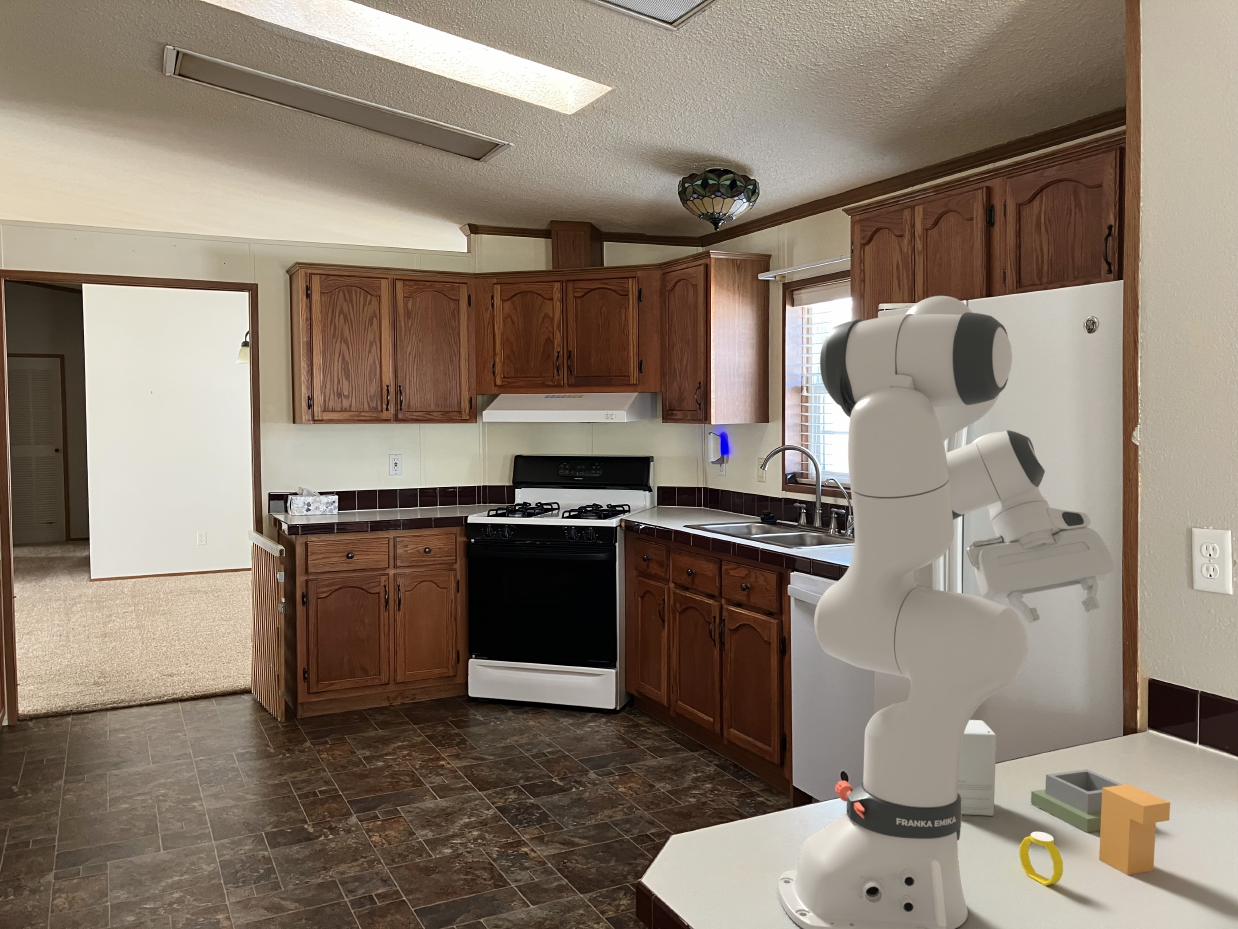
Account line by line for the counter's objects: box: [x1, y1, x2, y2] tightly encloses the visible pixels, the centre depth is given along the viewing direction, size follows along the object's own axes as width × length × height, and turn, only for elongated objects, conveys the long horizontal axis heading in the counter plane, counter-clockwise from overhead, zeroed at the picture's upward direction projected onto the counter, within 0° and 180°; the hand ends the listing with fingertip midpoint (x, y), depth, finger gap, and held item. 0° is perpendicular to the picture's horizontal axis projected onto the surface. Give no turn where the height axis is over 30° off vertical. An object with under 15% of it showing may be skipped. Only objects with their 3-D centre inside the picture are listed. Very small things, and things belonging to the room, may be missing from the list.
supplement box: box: [958, 719, 997, 817], centre depth 149 cm, size 7×7×13 cm
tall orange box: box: [1098, 783, 1171, 876], centre depth 129 cm, size 7×5×10 cm
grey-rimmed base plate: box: [1030, 768, 1123, 833], centre depth 147 cm, size 11×11×5 cm
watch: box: [1018, 831, 1064, 887], centre depth 125 cm, size 6×3×6 cm, turn 23°
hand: (1063, 616), depth 141 cm, fingers open, 8 cm apart
